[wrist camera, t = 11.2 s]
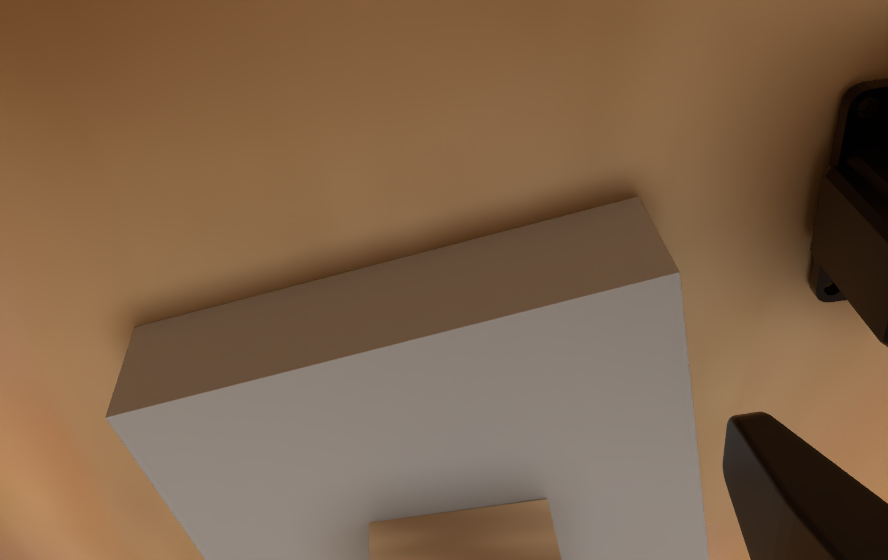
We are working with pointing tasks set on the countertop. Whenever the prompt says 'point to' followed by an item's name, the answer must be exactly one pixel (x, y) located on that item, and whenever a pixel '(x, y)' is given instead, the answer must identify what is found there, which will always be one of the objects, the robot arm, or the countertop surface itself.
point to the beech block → (469, 535)
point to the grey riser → (432, 398)
